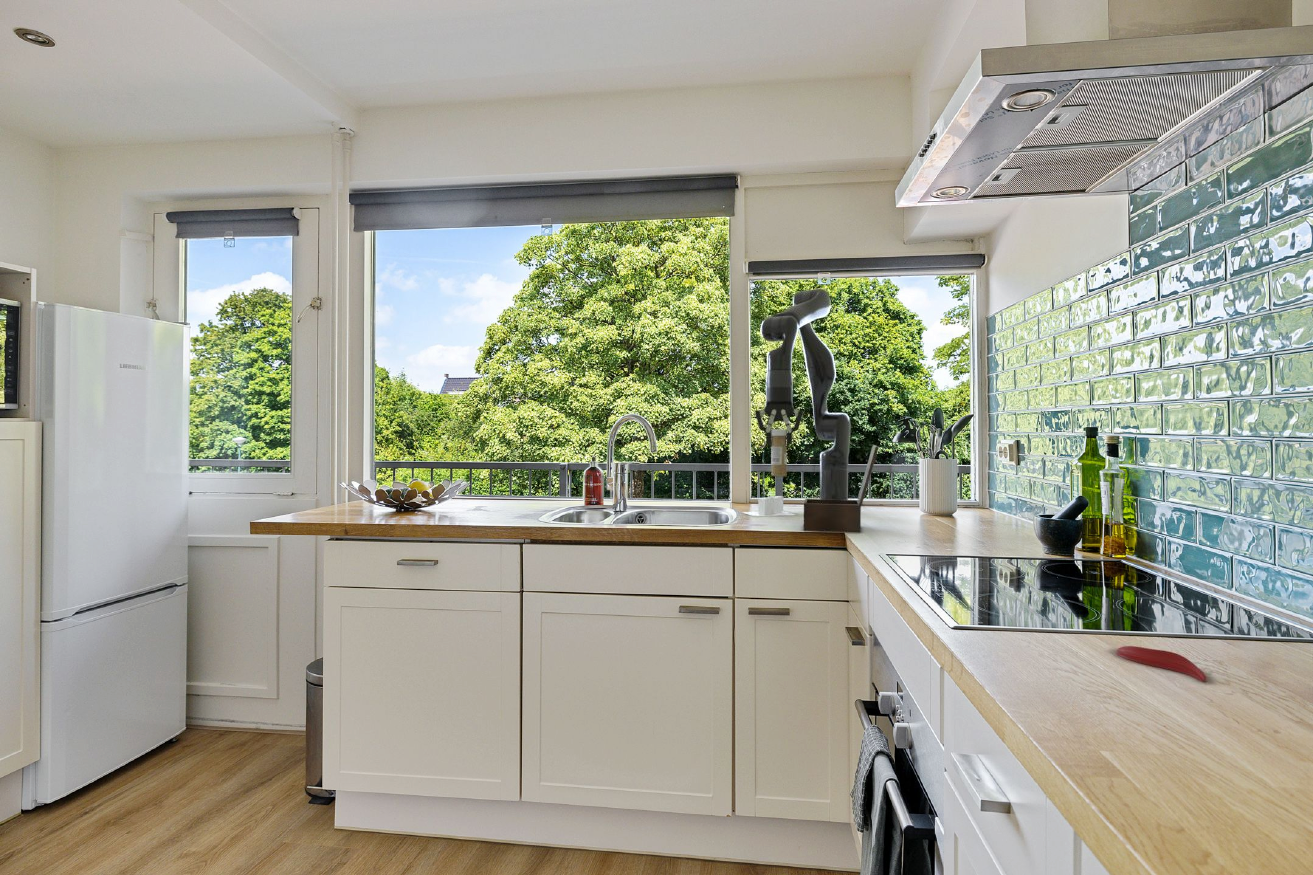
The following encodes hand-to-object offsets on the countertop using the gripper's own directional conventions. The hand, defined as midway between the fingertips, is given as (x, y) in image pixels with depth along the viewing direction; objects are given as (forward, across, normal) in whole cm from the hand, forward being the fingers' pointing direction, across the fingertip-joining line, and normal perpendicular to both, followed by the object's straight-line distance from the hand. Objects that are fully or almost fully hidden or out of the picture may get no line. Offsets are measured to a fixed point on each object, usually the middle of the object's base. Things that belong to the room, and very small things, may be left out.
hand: (778, 445), depth 212 cm
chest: (+23, -15, 0) cm, 28 cm away
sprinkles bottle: (+9, 0, 0) cm, 9 cm away
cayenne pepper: (+23, -54, +112) cm, 127 cm away
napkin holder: (+24, +5, -30) cm, 39 cm away
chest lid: (+7, -24, 0) cm, 25 cm away
